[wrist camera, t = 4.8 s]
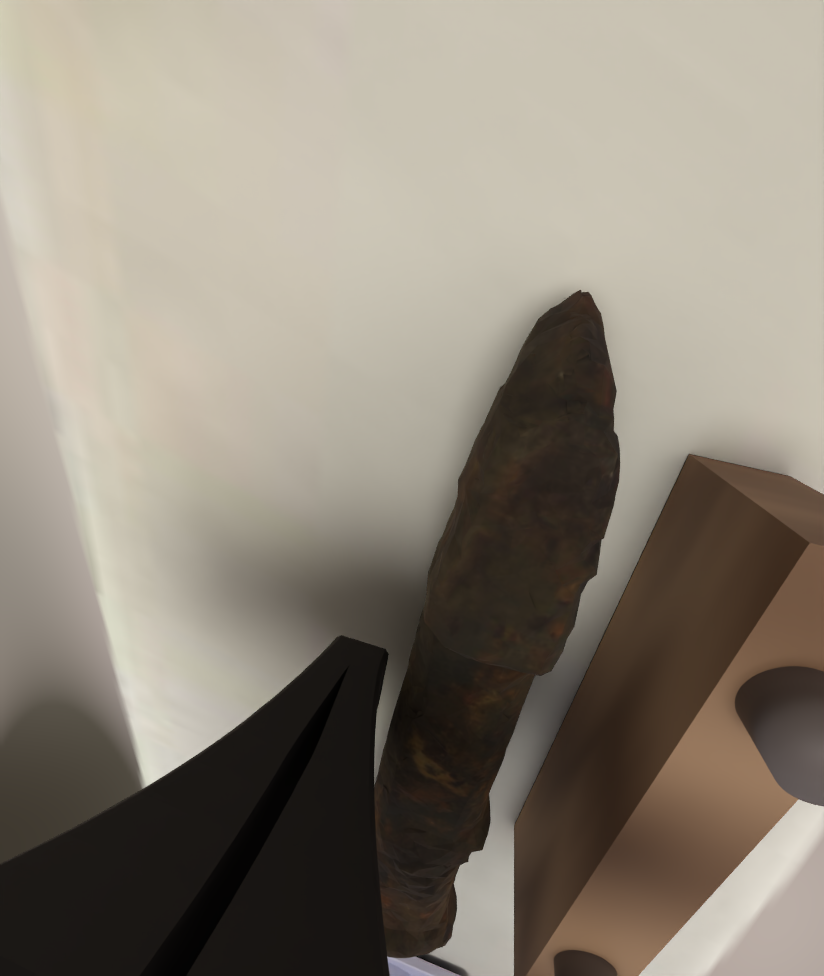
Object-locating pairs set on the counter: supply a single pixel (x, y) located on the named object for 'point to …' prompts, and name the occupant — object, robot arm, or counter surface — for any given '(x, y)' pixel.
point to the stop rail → (680, 727)
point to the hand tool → (495, 613)
